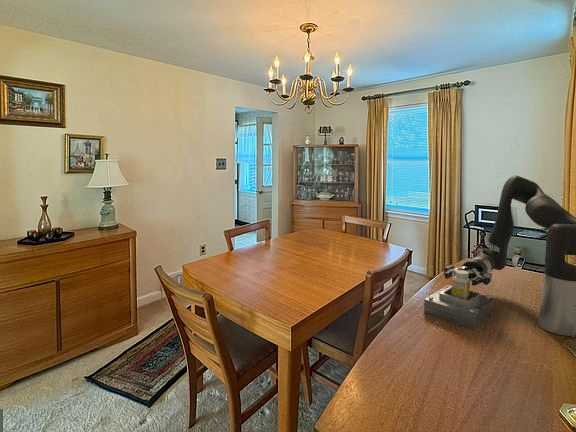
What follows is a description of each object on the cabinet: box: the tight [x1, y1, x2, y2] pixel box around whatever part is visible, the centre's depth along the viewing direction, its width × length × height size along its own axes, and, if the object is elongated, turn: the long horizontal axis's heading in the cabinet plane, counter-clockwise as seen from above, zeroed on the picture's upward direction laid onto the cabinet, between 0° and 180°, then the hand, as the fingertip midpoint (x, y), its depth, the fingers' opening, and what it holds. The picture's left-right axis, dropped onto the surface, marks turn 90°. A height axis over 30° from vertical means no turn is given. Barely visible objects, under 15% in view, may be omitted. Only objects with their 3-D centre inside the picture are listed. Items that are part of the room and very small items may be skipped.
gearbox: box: [423, 284, 495, 331], centre depth 110 cm, size 16×18×7 cm
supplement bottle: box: [451, 270, 471, 300], centre depth 109 cm, size 5×5×10 cm
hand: (459, 279), depth 108 cm, fingers open, 8 cm apart
